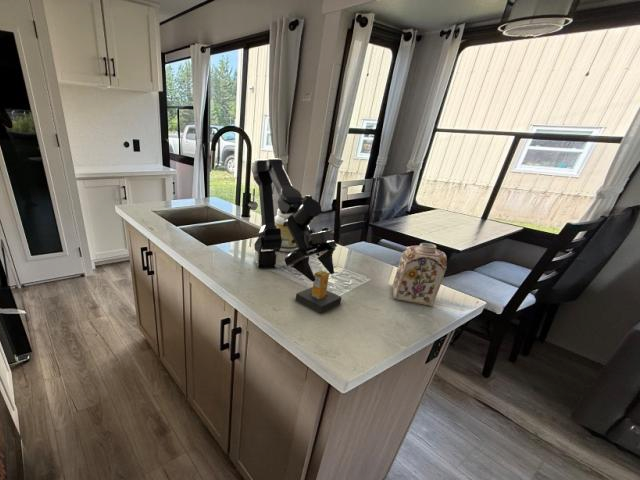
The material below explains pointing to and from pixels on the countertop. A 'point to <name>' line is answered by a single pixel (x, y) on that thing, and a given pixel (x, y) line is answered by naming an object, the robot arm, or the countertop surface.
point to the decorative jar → (419, 274)
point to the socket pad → (318, 300)
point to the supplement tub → (285, 233)
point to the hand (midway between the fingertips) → (323, 277)
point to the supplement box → (320, 284)
